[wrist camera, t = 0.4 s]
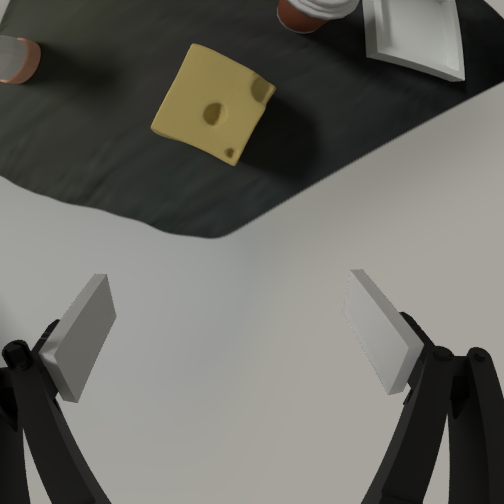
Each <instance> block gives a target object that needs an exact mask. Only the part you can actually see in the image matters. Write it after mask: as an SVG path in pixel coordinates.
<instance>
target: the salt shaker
mask: <svg viewBox="0 0 504 504" xmlns="http://www.w3.org/2000/svg"><path fill="white" fill-rule="evenodd" d="M40 57H41V51H40V47H39V45H38V44H37V43H35V42H33V41H30V40H27V39H24V38H18V39H16V38H13V37H10V36H0V80H1V81H2V82H5V83H14V84H20V83H23V82H25V81H26V80H28V79H29V78H30V77H31V76H32V75H33V74H34V72H35V70H36V69H37V67H38V64H39V62H40Z"/></svg>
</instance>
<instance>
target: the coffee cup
mask: <svg viewBox="0 0 504 504" xmlns="http://www.w3.org/2000/svg"><path fill="white" fill-rule="evenodd" d="M358 2H359V0H279V4H278V7H277V17H278V19H279V21H280V23H281V24H282V25H283V26H284V27H285V28H286V29H288V30H290V31H293V32H295V33H301V34H306V33H312V32H314V31H315V30H317V29H318V28H319V27H321V26H322V25H323V24H325V23H326V22H328V21H329V20H331V19H339V18H343V17H344V16H346V15H348V14H350V13H351V12H353V11H354V10H355V8H356V6H357V4H358Z"/></svg>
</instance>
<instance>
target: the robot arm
mask: <svg viewBox="0 0 504 504" xmlns="http://www.w3.org/2000/svg"><path fill="white" fill-rule="evenodd" d="M343 314H344V316H345V318H346V319H347V321H348V323H349V325H350V326H351V328H352V330H353V332H354V333H355V335H356V337H357V339H358V340H359V342H360V344H361V346H362V348H363V349H364V351H365V353H366V355H367V357H368V358H369V360H370V362H371V364H372V366H373V368H374V369H375V371H376V373H377V375H378V377H379V379H380V381H381V382H382V384H383V386H384V388H385V390H386V392H387V394H388V395H391V394H395V393H399V392H402V391H403V390H404V388H405V386H406V384H407V382H408V384H409V386H410V387H411V389H410V391H409V393H408V395H407V397H406V399H405V401H404V403H403V405H404V408H403V411H402V413H401V416H400V419H399V422H398V424H397V427H396V430H395V432H394V435H393V437H392V440H391V442H390V444H389V447H388V449H387V451H386V454H385V456H384V458H383V460H382V463H381V465H380V467H379V469H378V471H377V473H376V475H375V477H374V479H373V481H372V484H371V485H370V487H369V489H368V491H367V494H366V495H365V497H364V499H363V501H362V502H361V504H423V499H424V496H425V493H426V491H427V488H428V485H429V482H430V479H431V476H432V472H433V469H434V465H435V462H436V459H437V455H438V451H439V447H440V444H441V440H442V435H443V431H444V427H445V422H446V417H447V415H448V428H449V450H450V480H449V502H448V504H504V398H503V394H502V391H501V387H500V383H499V380H498V377H497V373H496V370H495V367H494V364H493V361H492V358H491V356H490V354H489V353H488V352H487V351H486V350H484V349H482V348H479V347H473V348H471V349H470V350H469V351H468V353H467V355H466V356H454V354H452V352H451V351H450V350H449V349H447V348H445V347H442V346H435V345H434V343H433V342H432V341H431V340H430V338H429V337H428V336H427V335H426V334H425V332H424V331H423V330H421V327H420V326H419V325H417V323H416V321H415V320H414V319H413V318H412V317H411V316H409V315H408V314H406V313H404V312H398V311H397V310H396V308H395V307H394V306H393V305H392V304H391V302H390V301H389V300H388V299H387V298H386V296H385V295H384V294H383V293H382V292H381V291H380V289H379V288H378V287H377V286H376V285H375V283H374V282H373V281H372V280H371V279H370V278H369V276H368V275H367V274H366V273H365V272H364V271H363V270H350V274H349V280H348V286H347V291H346V297H345V301H344V307H343ZM115 319H116V313H115V309H114V305H113V301H112V296H111V292H110V287H109V282H108V278H107V274H94V276H93V277H92V278H91V279H90V281H89V282H88V283H87V285H86V286H85V287H84V289H83V290H82V291H81V292H80V294H79V295H78V297H77V298H76V299H75V301H74V302H73V303H72V305H71V306H70V307H69V309H68V310H67V312H66V313H65V314H64V316H63V317H62V319H61V320H58V319H57V320H55V321H54V322H52V323H51V324H50V325H49V326H48V327H47V329H46V330H45V332H44V333H43V334H42V336H41V339H39V340H38V342H37V343H36V345H35V346H34V348H33V349H32V351H30V349H29V347H28V345H27V343H26V342H25V341H23V340H15V341H12V342H10V343H8V344H7V345H6V346H5V347H4V349H3V350H2V356H3V358H4V360H5V362H6V364H7V366H8V367H3V368H0V504H30V497H29V491H28V485H27V478H26V469H25V459H24V447H23V429H24V433H25V436H26V439H27V442H28V445H29V448H30V451H31V454H32V457H33V459H34V463H35V465H36V468H37V470H38V473H39V475H40V478H41V480H42V483H43V485H44V487H45V489H46V492H47V494H48V496H49V498H50V501H51V503H52V504H111V502H110V501H109V499H108V498H107V496H106V494H105V493H104V491H103V490H102V488H101V487H100V485H99V483H98V482H97V480H96V478H95V477H94V475H93V473H92V472H91V470H90V468H89V466H88V464H87V463H86V461H85V459H84V457H83V455H82V453H81V451H80V449H79V448H78V446H77V444H76V442H75V440H74V438H73V436H72V434H71V431H70V429H69V427H68V425H67V423H66V420H65V418H64V416H63V414H62V411H61V409H60V406H59V404H58V402H57V400H56V398H55V397H56V395H57V393H58V392H59V394H60V395H61V397H62V399H63V400H65V401H69V402H75V403H78V401H79V398H80V396H81V394H82V391H83V389H84V386H85V384H86V382H87V379H88V377H89V375H90V372H91V370H92V368H93V365H94V363H95V361H96V359H97V356H98V354H99V352H100V350H101V348H102V346H103V343H104V341H105V339H106V337H107V335H108V333H109V331H110V329H111V327H112V325H113V323H114V321H115Z"/></svg>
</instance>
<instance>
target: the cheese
mask: <svg viewBox="0 0 504 504" xmlns="http://www.w3.org/2000/svg"><path fill="white" fill-rule="evenodd" d="M275 90H276V87H275V86H274V85H272V84H270V83H269V82H267V81H266V80H264V79H263V78H262V77H261V76H259V75H258V74H257V73H255V72H254V71H252V70H250V69H249V68H247V67H245V66H243V65H241V64H239V63H237V62H235V61H233V60H231V59H229V58H227V57H225V56H223V55H222V54H220V53H218V52H216V51H214V50H211V49H209V48H206V47H204V46H201V45H198V44H192V45H191V47H190V49H189V51H188V53H187V55H186V57H185V60H184V62H183V64H182V66H181V68H180V70H179V72H178V74H177V76H176V78H175V80H174V82H173V84H172V86H171V88H170V90H169V91H168V93H167V95H166V97H165V99H164V101H163V103H162V105H161V107H160V109H159V111H158V113H157V115H156V117H155V119H154V121H153V123H152V125H151V129H152V130H153V131H154V132H155V133H156V134H159V135H161V136H163V137H166V138H169V139H174V140H178V141H182V142H185V143H188V144H190V145H192V146H195V147H197V148H199V149H202V150H204V151H206V152H208V153H210V154H212V155H214V156H215V157H217V158H219V159H221V160H223V161H225V162H226V163H228V164H230V165H232V166H235V165H236V164H237V162H238V160H239V158H240V156H241V154H242V152H243V150H244V148H245V146H246V144H247V142H248V140H249V138H250V136H251V134H252V132H253V130H254V128H255V126H256V124H257V123H258V121H259V119H260V118H261V116H262V115H263V113H264V111H265V109H266V104H267V102H268V101H269V99H270V97H271V96H272V95H273V93H274V92H275Z"/></svg>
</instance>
